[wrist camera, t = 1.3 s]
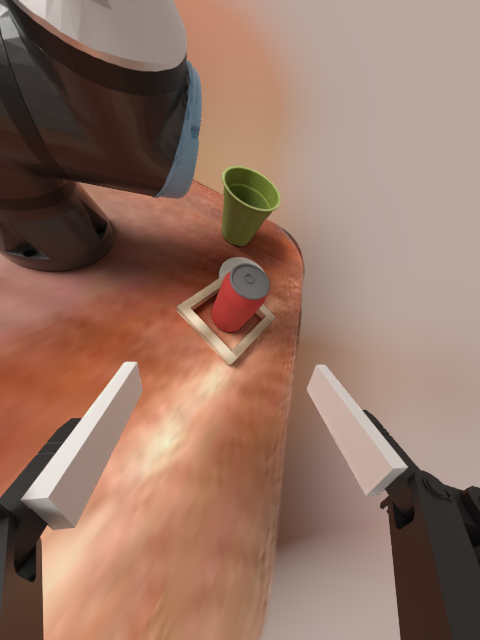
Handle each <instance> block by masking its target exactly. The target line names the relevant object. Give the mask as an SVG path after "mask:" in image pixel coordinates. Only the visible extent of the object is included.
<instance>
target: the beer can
mask: <svg viewBox="0 0 480 640" xmlns="http://www.w3.org/2000/svg"><path fill="white" fill-rule="evenodd" d="M269 289H270V282H269V279H268V277H267V275H266V274H265V273H264V272H263V271H262V270H261V269H260V268H259V267H257V266H255V265H252V264H249V263H242V264H238V265H236V266H235V267H233V269H232V270H231V271H230V272H229V273H228V274H227V275H226V276H225V278H224V280H223V282H222V284H221V287H220V290H219V292H218V295H217V298H216V300H215V303H214V306H213V308H212V313H211V315H212V320H213V322H214V323H215V325H216V326H217V327H218V328H219V329H221V330H223V331H227V332H234V331H237V330H239V329H240V328H241V327H242V326H243V325H244V324H245V323H246V322H247V321H248V320H249V319H250V318H251V317H252V315H253V314H254V313H255V312H256V311H257V310H258V309H259V308H260V307H261V306H262V305H263V304H264V302H265V299H266V297H267V294H268V291H269Z"/></svg>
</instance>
